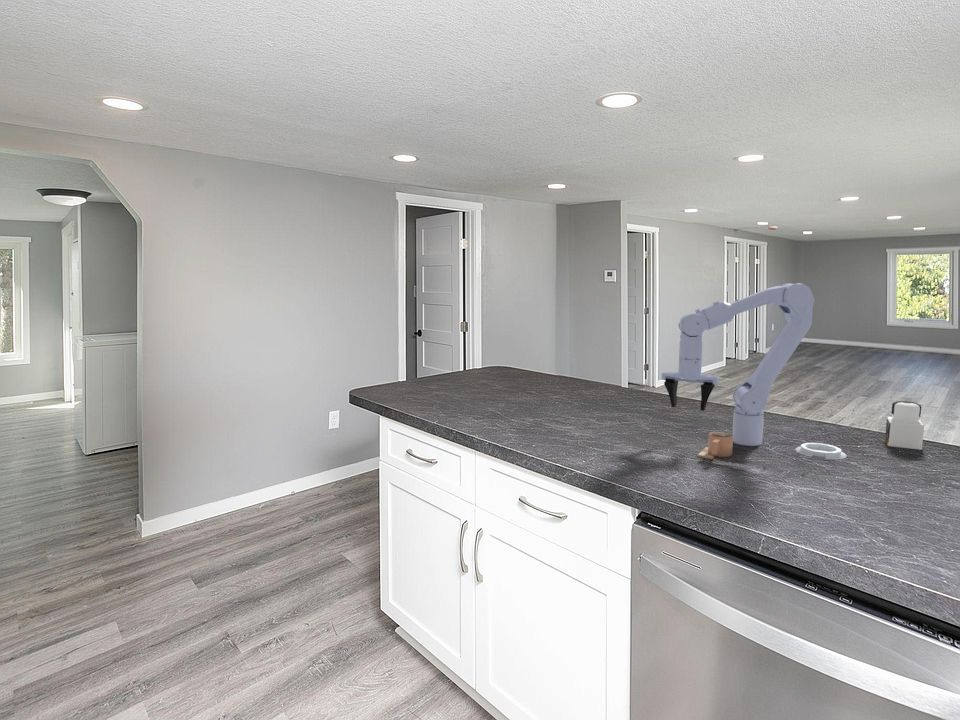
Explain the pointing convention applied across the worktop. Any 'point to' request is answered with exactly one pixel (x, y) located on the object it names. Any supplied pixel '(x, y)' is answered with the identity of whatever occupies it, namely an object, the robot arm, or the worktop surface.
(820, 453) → the plate
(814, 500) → the worktop surface
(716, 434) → the mug
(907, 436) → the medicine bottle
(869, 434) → the worktop surface
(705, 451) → the mat
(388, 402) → the worktop surface
